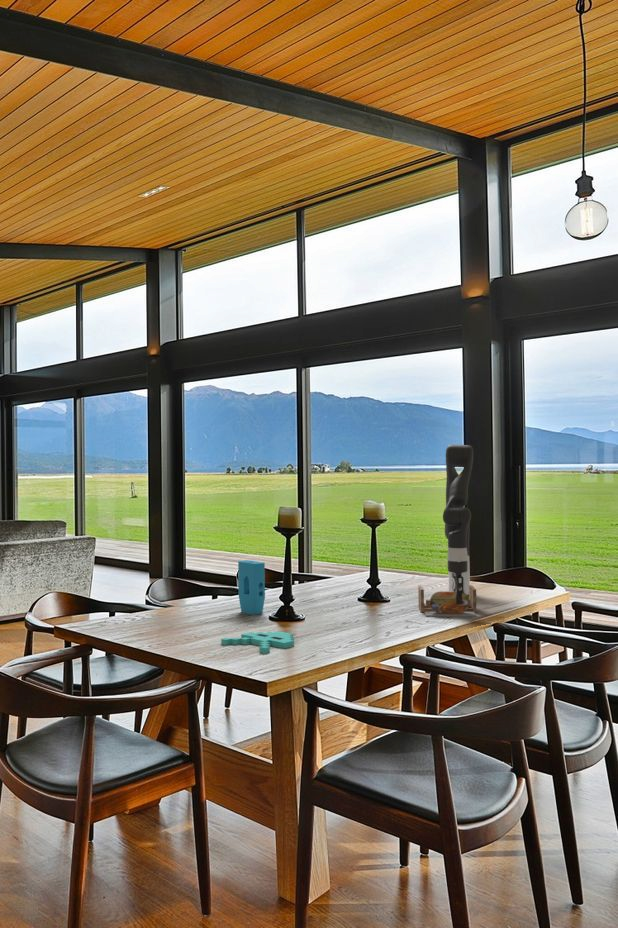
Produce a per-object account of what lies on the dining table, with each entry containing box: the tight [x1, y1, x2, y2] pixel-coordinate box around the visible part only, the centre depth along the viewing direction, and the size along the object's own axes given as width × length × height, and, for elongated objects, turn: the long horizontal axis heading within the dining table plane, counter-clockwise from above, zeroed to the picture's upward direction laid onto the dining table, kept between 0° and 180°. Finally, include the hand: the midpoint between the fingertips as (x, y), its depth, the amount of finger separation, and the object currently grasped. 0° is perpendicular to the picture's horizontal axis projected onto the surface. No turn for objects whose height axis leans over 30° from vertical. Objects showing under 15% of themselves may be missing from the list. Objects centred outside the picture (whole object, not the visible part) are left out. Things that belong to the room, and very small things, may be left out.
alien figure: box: [220, 631, 295, 655], centre depth 254 cm, size 20×2×20 cm
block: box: [237, 559, 266, 616], centre depth 307 cm, size 12×5×20 cm, turn 41°
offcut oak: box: [425, 598, 431, 605], centre depth 312 cm, size 2×5×2 cm, turn 70°
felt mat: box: [424, 612, 477, 618], centre depth 298 cm, size 7×19×1 cm, turn 87°
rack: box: [417, 584, 477, 614], centre depth 308 cm, size 11×21×9 cm, turn 87°
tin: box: [430, 590, 470, 614], centre depth 299 cm, size 15×3×8 cm, turn 85°
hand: (457, 602), depth 298 cm, fingers open, 7 cm apart
